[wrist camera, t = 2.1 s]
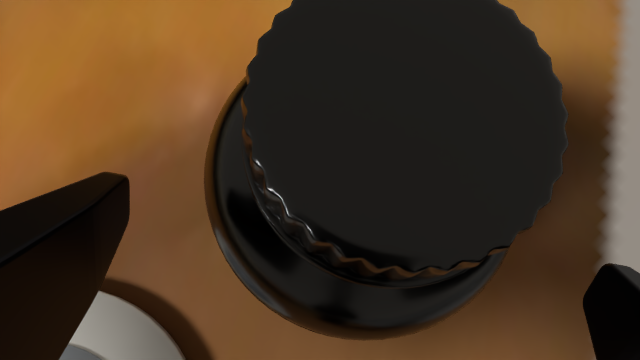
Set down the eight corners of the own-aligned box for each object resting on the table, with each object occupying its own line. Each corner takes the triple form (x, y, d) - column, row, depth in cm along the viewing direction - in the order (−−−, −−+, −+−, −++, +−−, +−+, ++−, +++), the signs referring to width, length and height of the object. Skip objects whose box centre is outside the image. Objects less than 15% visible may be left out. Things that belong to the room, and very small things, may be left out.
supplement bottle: (333, 112, 20) (425, -167, 8) (451, 244, 19) (738, 135, 7) (193, 222, 18) (63, 63, 7) (314, 372, 17) (411, 490, 6)
